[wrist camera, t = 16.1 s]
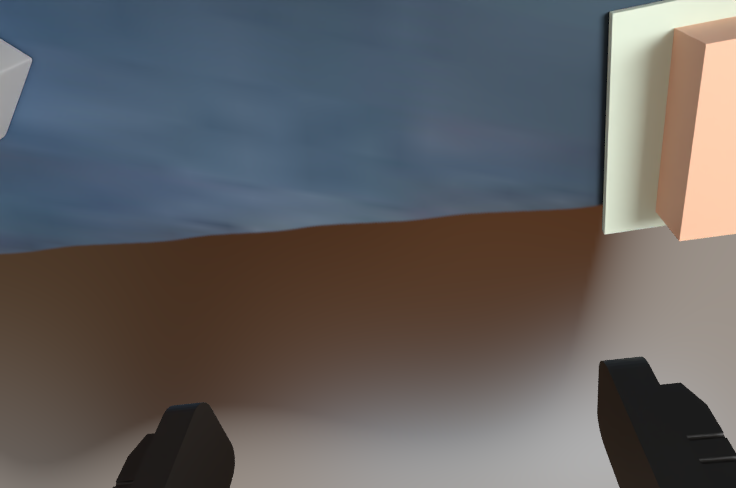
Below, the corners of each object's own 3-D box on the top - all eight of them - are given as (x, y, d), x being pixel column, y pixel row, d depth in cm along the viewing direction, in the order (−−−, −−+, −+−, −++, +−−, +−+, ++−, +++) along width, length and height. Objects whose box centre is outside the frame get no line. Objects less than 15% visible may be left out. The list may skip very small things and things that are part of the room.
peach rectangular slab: (674, 28, 32) (706, 44, 29) (764, 10, 31) (808, 25, 28) (655, 211, 39) (679, 241, 36) (728, 200, 38) (760, 230, 35)
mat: (609, 11, 32) (612, 13, 32) (829, -34, 30) (836, -33, 30) (602, 230, 41) (604, 234, 40) (772, 205, 39) (777, 209, 38)
